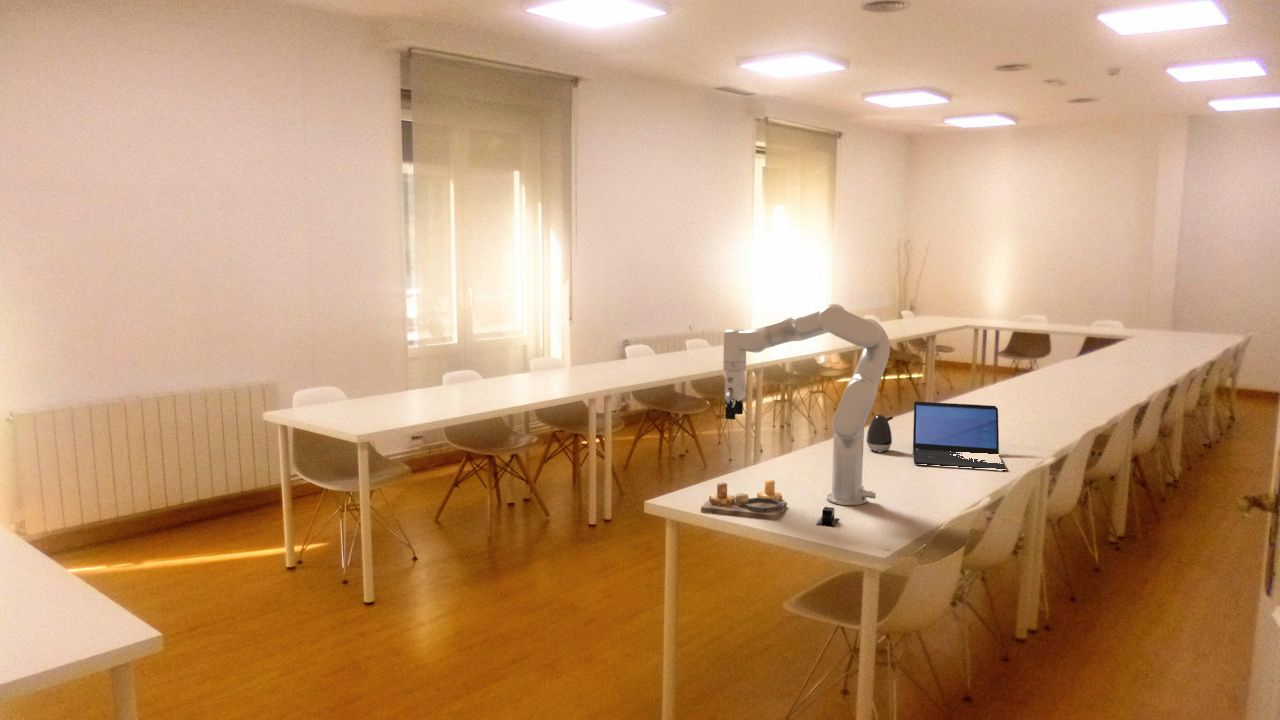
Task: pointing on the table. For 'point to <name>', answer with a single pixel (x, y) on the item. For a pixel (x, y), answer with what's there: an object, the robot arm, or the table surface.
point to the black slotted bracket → (828, 518)
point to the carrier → (743, 505)
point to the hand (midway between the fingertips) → (734, 416)
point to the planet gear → (770, 491)
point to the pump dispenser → (879, 433)
